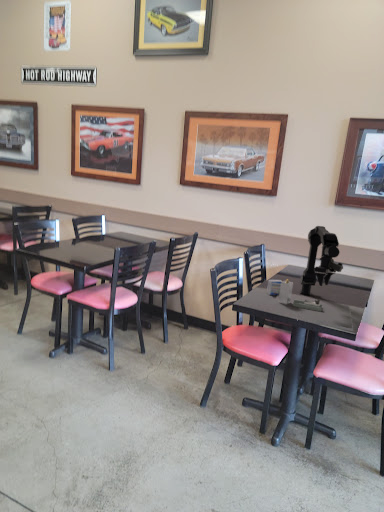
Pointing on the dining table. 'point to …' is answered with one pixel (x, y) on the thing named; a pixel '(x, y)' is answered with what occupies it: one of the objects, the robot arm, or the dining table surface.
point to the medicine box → (273, 287)
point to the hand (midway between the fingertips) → (323, 285)
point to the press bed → (301, 304)
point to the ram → (313, 302)
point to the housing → (285, 292)
